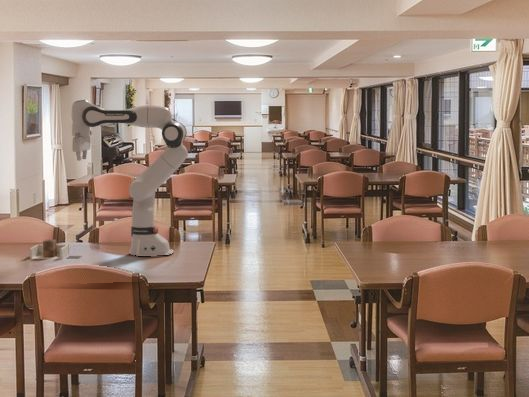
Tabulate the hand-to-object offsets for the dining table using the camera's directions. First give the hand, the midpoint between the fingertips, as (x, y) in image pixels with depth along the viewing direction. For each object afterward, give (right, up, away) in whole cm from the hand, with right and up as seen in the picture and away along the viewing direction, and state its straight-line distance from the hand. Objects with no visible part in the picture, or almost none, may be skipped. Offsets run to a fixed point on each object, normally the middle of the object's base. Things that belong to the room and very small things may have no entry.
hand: (81, 159), depth 372 cm
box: (-14, -49, -7) cm, 51 cm away
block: (-14, -48, -7) cm, 51 cm away
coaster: (-1, -49, -9) cm, 50 cm away
